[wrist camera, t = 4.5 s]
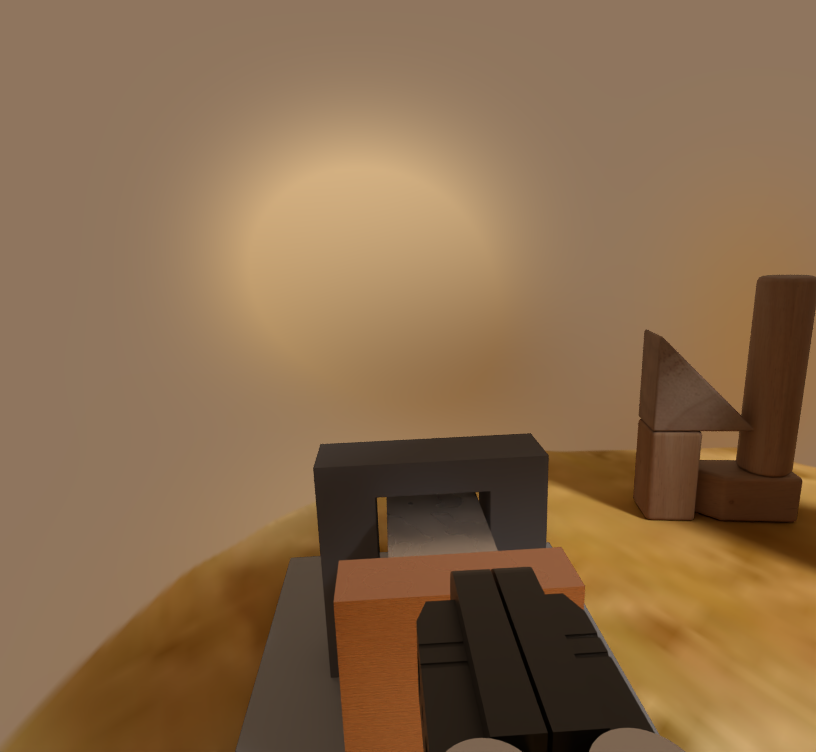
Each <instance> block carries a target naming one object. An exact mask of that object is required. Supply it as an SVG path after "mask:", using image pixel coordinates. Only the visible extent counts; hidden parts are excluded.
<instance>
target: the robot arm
mask: <svg viewBox="0 0 816 752" xmlns="http://www.w3.org/2000/svg"><path fill="white" fill-rule="evenodd" d="M416 630H417V664H418V694H419V706H420V717H421V728H422V740H423V751H424V752H685V751H684V750H682V749H681V748H680V747H679V746H677V745H676V744H674V743H673V742H671V741H669V740H668V739H666V738H664V737H662V736H660V735H658V734H655V732H654V731H653V729H652V727H651V725H650V724H649V722H648V720H647V719H646V717H645V715H644V713H643V712H642V710H641V708H640V706H639V705H638V703H637V701H636V699H635V698H634V696H633V694H632V692H631V691H630V689H629V687H628V685H627V684H626V682H625V680H624V678H623V677H622V675H621V673H620V672H619V670H618V668H617V666H616V665H615V663H614V661H613V659H612V658H611V656H610V657H609V655H608V651H607V649H606V647H605V645H604V644H603V642H602V640H601V638H600V637H598V635H597V631H596V630H595V628H594V626H593V625H592V623H591V621H590V619H589V618H588V616H587V614H586V612H585V611H584V610H583V609H582V608H580V607H579V606H578V605H577V604H576V603H574V602H573V601H572V600H571V599H569V598H568V597H567V596H566V595H565V594H563V593H558V594H545V593H544V591H543V589H542V587H541V585H540V583H539V581H538V579H537V577H536V575H535V573H534V571H533V569H532V568H531V567H513V568H496V569H491V571H490V569H481V570H463V571H451V573H450V600H441V601H426V602H425V604H424V606H423V608H422V610H421V612H420V615H419V617H418V619H417V621H416Z"/></svg>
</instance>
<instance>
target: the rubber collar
mask: <svg viewBox="0 0 816 752" xmlns="http://www.w3.org/2000/svg"><path fill="white" fill-rule="evenodd" d="M548 462H549V455H548V454H547V453H546V452H545V450H544V449H543V448H542V447H541V446H540V444H539V443H538V442H537V441H536V440H535V438H534V437H533V436H532V434H531V433H530V434H511V435H493V436H474V437H473V436H472V437H452V438H432V439H415V440H414V439H413V440H394V441H374V442H355V443H336V444H321V445H320V448H319V451H318V454H317V458H316V461H315V464H314V468H313V471H314V482H315V494H316V507H317V519H318V531H319V543H320V555H321V567H322V579H323V591H324V603H325V615H326V627H327V639H328V651H329V663H330V675H331V678H337V677H339V666H338V653H337V640H336V628H335V615H334V594H335V587H336V579H337V572H338V564H339V561H340V560H357V559H373V558H380V549H379V531H378V512H377V497H395V496H413V495H430V494H448V493H466V492H479V503H480V506H481V508H482V511H483V514H484V516H485V519H486V521H487V524H488V526H489V529H490V532H491V534H492V537H493V539H494V542H495V545H496V547H497V550H498V551H506V550H523V549H539V548H546V533H547V497H548Z"/></svg>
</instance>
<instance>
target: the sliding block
mask: <svg viewBox="0 0 816 752" xmlns="http://www.w3.org/2000/svg"><path fill="white" fill-rule="evenodd" d="M387 529H388V558H373V559H357V560H340V561H339V564H338V572H337V579H336V587H335V594H334V615H335V628H336V640H337V653H338V666H339V679H340V691H341V704H342V717H343V730H344V742H345V752H424V751H423V740H422V728H421V717H420V706H419V694H418V664H417V630H416V621H417V619H418V617H419V615H420V612H421V610H422V608H423V606H424V604H425V602H426V601H441V600H450V573H451V571H463V570H481V569H490V571H491V569H496V568H513V567H531V568H532V569H533V571H534V573H535V575H536V577H537V579H538V581H539V583H540V585H541V587H542V589H543V591H544V593H545V594H558V593H563V594H565V595H566V596H567V597H568V598H569V599H571V600H572V601H573V602H574V603H576V604H577V605H578V606H579V607H580V608H582V609H583V610H584V596H585V585H584V584H583V582H582V580H581V579H580V577H579V575H578V574H577V572H576V570H575V569H574V567H573V565H572V564H571V562H570V561H569V559H568V557H567V556H566V554H565V552H564V551H563V549H562V547H556V548H539V549H523V550H506V551H498V550H497V547H496V545H495V542H494V539H493V537H492V534H491V532H490V529H489V526H488V524H487V521H486V519H485V516H484V514H483V511H482V508H481V506H480V503H479V501H478V498H477V496H476V493H475V492H466V493H448V494H430V495H413V496H395V497H387Z"/></svg>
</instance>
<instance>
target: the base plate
mask: <svg viewBox="0 0 816 752" xmlns="http://www.w3.org/2000/svg"><path fill="white" fill-rule="evenodd" d="M546 548H552V547H551V545H550V543H549V542H547V543H546ZM380 558H388V552H380ZM584 611H585V612H586V614H587V616H588V618H589V619H590V621H591V623H592V625H593V626H594V628H595V630H596V631H597V635H598V637H600V638H601V640H602V642H603V644H604V645H605V647H606V649H607V651H608V655H609V657H610V656H611V658H612V659H613V661H614V663H615V665H616V666H617V668H618V670H619V672H620V673H621V675H622V677H623V678H624V680H625V682H626V684H627V685H628V687H629V689H630V691H631V692H632V694H633V696H634V698H635V699H636V701H637V703H638V705H639V706H640V708H641V710H642V712H643V713H644V715H645V717H646V719H647V720H648V722H649V724H650V725H651V727H652V729H653V731H654V732H655V734H658V735H659V733H658V732H657V730H656V728H655V726H654V725H653V723H652V721H651V719H650V718H649V716H648V714H647V712H646V711H645V709H644V707H643V705H642V704H641V702H640V700H639V698H638V697H637V695H636V693H635V691H634V690H633V688H632V686H631V685H630V683H629V681H628V679H627V678H626V676H625V674H624V672H623V671H622V669H621V667H620V665H619V664H618V662H617V660H616V658H615V657H614V655H613V653H612V651H611V650H610V648H609V646H608V644H607V643H606V641H605V639H604V637H603V636H602V634H601V632H600V630H599V629H598V627H597V625H596V623H595V622H594V620H593V618H592V616H591V615H590V613H589V611H588V609H587V608H586V606H585V604H584ZM235 752H345V742H344V730H343V717H342V704H341V691H340V679H339V677H337V678H331V675H330V663H329V651H328V639H327V627H326V615H325V603H324V591H323V579H322V567H321V556H313V557H297V558H291V559H290V562H289V566H288V569H287V573H286V576H285V580H284V583H283V587H282V590H281V594H280V597H279V601H278V604H277V608H276V611H275V615H274V618H273V622H272V625H271V629H270V632H269V636H268V639H267V643H266V646H265V649H264V653H263V656H262V660H261V663H260V667H259V670H258V674H257V677H256V681H255V684H254V688H253V691H252V695H251V698H250V702H249V705H248V709H247V712H246V716H245V719H244V723H243V726H242V730H241V733H240V737H239V740H238V743H237V747H236V750H235Z"/></svg>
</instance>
